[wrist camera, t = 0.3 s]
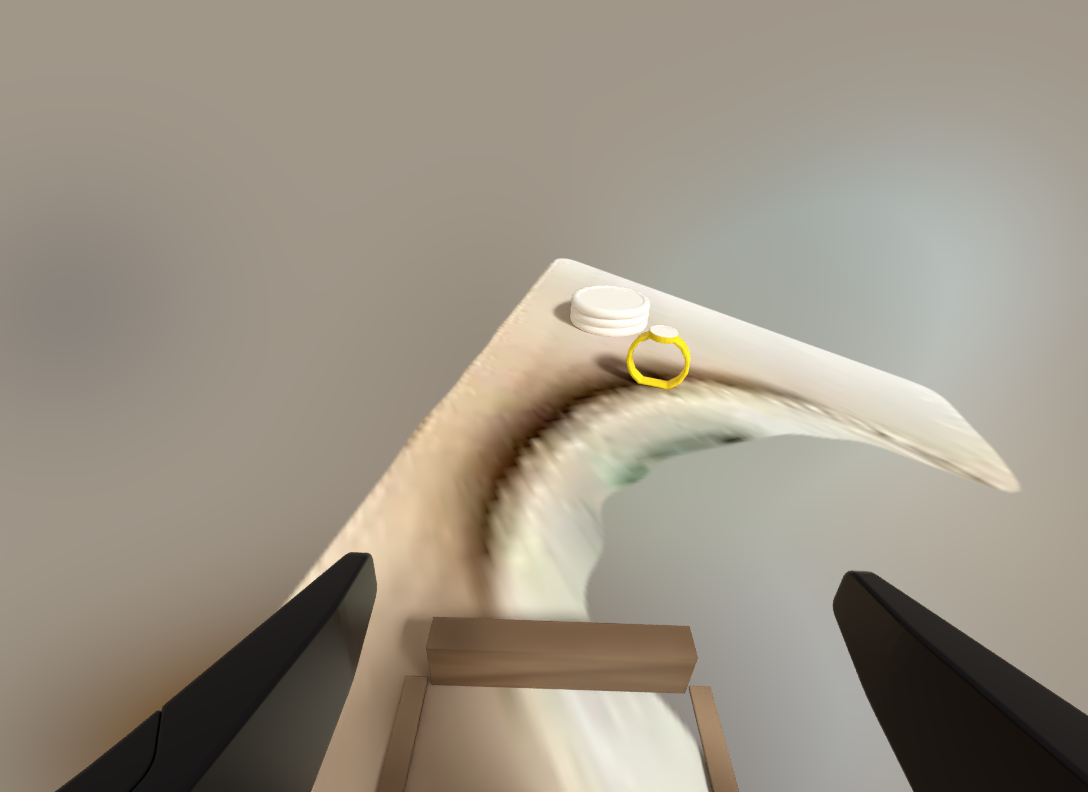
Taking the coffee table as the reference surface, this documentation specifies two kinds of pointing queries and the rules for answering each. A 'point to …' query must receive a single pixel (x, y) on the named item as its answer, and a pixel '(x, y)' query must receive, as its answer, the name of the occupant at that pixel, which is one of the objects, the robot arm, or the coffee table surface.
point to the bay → (558, 674)
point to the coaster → (609, 311)
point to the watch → (662, 336)
